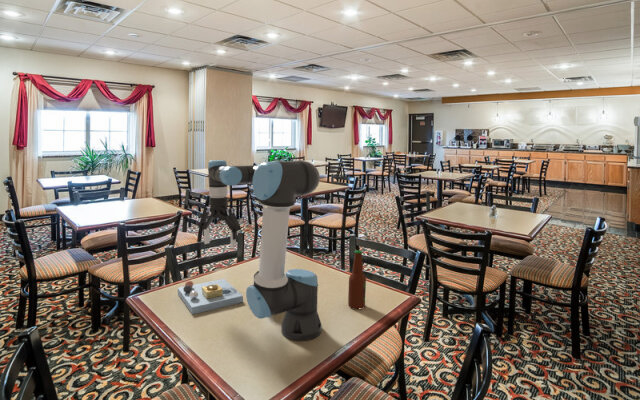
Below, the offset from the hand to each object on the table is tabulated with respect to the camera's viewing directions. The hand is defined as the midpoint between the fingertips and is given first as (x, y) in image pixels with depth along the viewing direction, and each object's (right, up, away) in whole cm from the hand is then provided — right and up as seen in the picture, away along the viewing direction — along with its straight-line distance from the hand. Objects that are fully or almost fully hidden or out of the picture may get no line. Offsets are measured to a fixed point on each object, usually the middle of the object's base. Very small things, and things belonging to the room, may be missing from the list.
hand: (220, 245), depth 161 cm
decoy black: (-16, -22, +5) cm, 27 cm away
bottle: (+59, -27, 0) cm, 65 cm away
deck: (-6, -25, +6) cm, 26 cm away
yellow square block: (-4, -22, +3) cm, 23 cm away
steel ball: (-11, -23, -2) cm, 25 cm away
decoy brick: (-17, -21, +10) cm, 29 cm away
